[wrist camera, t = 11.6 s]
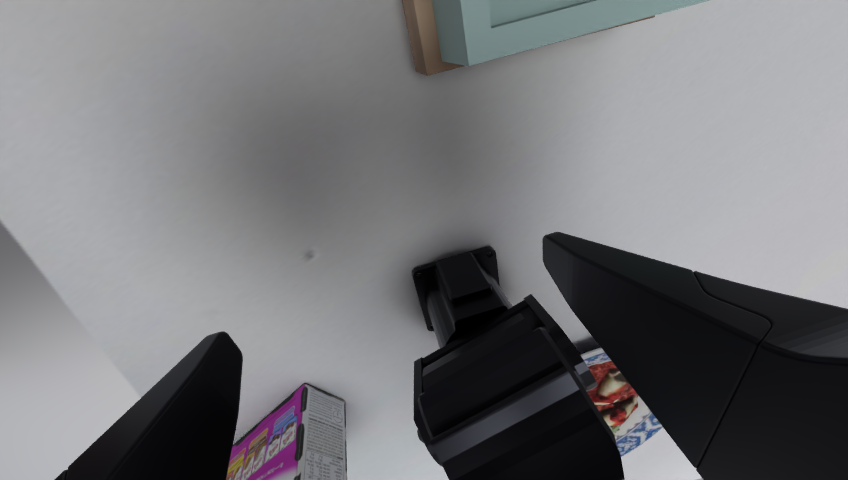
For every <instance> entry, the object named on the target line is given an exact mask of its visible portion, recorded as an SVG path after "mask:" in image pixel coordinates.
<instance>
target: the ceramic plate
mask: <svg viewBox="0 0 848 480" xmlns="http://www.w3.org/2000/svg"><path fill="white" fill-rule="evenodd" d="M581 357H582V358H583V360H584V361H585V363H586V365H587V366H588V368H589V369H590V371H591V373H592V374H593V376H594V378H595V380H596V382H597V385H598V386H597V387H595V388H593V389H591V390H590V391H587V393H588V395H589V396H590V398H591V399H592V401H593V402H594V404H595V406H596V407H597V409H598V410H599V412H600V413H601V415H602V416H603V418H604V419H605V421H606V423H607V424H608V426H609V427H610V429H611V430H612V432H613V434H614V436H615V440H616V446H617V448H618V450H619V452H620V456H621V457H622V456H624V455H626V454H627V453H629V452H631V451H632V450H634V449H635V448H637V447H638V446H640V445H641V444H643V443H644V442H645V441H647V440H648V439H649V438H651V437H652V436H653V435H654V434H656V433H657V432H658V431H659V430H660V429H661V428H662V427H663V426H662V425H661V424H660V422H659V421H658V420H657V419H656V417H655V416H654V415H653V413H652V412H651V411H650V410H649V408H648V407H647V406H646V405H645V403H644V402H643V401H642V399H641V398H640V397H639V396H638V394H637V393H636V392H635V390H634V389H633V388H632V387H631V385H630V384H629V383H628V381H627V380H626V379H625V378H624V376H623V375H622V374H621V372H620V371H619V370H618V369H617V367H616V366H615V365H614V363H613V362H612V361H611V360H610V358H609V357H608V356H607V354H606V353H605V352H604V351H603V349H602V348H598V349H595V350H592V351H589V352H586V353H583V354H581Z"/></svg>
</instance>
